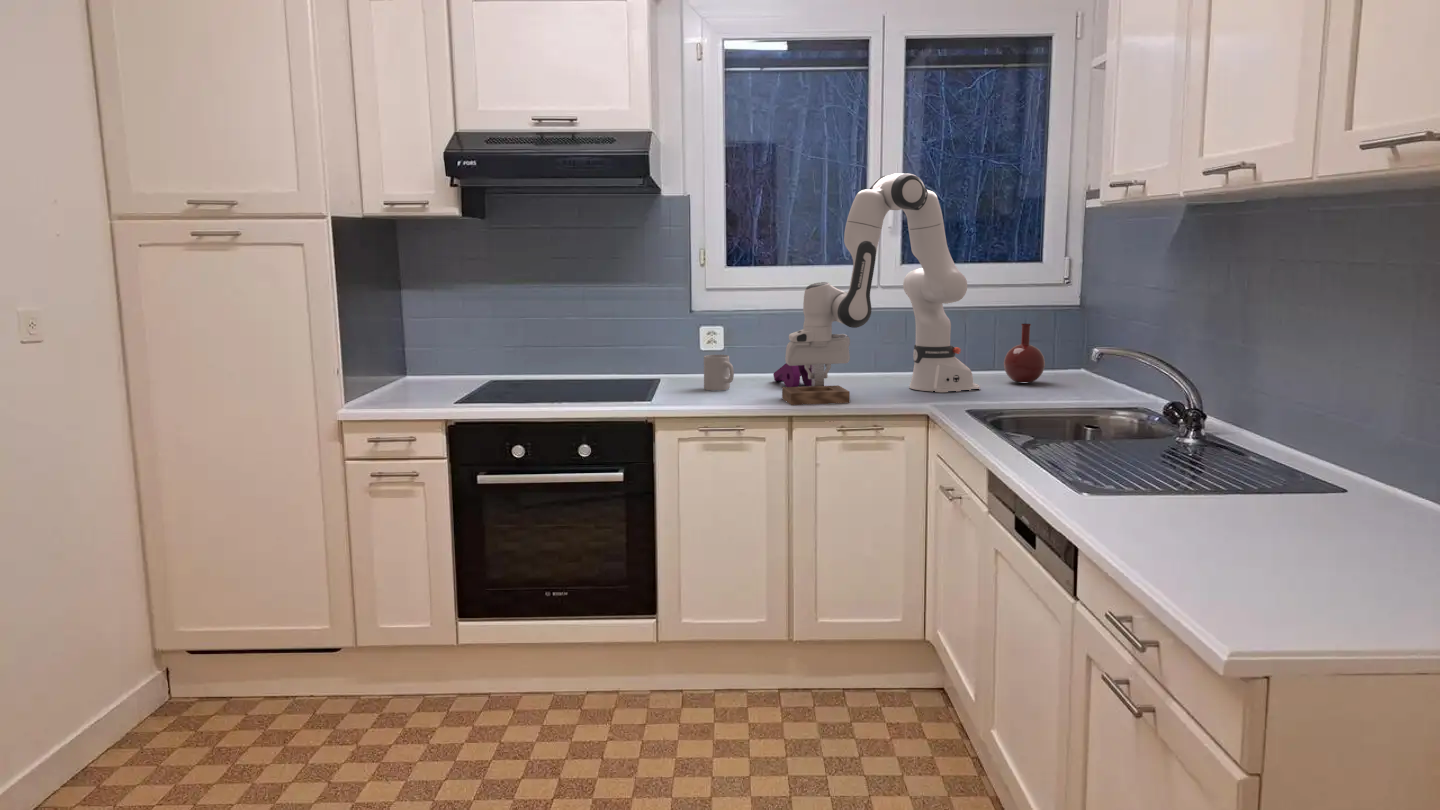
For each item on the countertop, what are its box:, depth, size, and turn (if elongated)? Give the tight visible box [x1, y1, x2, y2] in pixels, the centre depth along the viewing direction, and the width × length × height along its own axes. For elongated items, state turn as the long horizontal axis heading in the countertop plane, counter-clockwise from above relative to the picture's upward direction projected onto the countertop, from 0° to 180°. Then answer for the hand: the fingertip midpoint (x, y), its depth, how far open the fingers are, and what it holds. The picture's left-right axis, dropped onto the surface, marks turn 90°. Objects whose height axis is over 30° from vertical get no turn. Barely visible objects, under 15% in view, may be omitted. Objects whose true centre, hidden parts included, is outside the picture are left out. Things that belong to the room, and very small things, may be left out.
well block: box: [781, 384, 851, 406], centre depth 300 cm, size 18×12×4 cm, turn 99°
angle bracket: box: [801, 364, 825, 387], centre depth 309 cm, size 8×4×9 cm, turn 99°
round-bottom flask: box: [1003, 323, 1046, 383], centre depth 329 cm, size 13×13×20 cm
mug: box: [703, 354, 735, 391], centre depth 322 cm, size 12×8×11 cm
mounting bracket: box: [773, 362, 812, 387], centre depth 332 cm, size 10×8×18 cm
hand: (817, 378), depth 310 cm, fingers closed on angle bracket, 3 cm apart
